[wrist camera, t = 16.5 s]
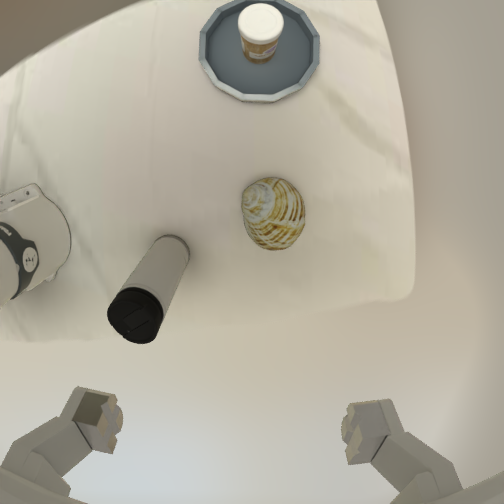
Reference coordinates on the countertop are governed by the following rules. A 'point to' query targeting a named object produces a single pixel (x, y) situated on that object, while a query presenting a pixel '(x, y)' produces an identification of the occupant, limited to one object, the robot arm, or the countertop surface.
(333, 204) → the countertop surface
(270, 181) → the seashell
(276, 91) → the slate bowl
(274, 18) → the sprinkles bottle
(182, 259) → the travel mug
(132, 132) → the countertop surface
